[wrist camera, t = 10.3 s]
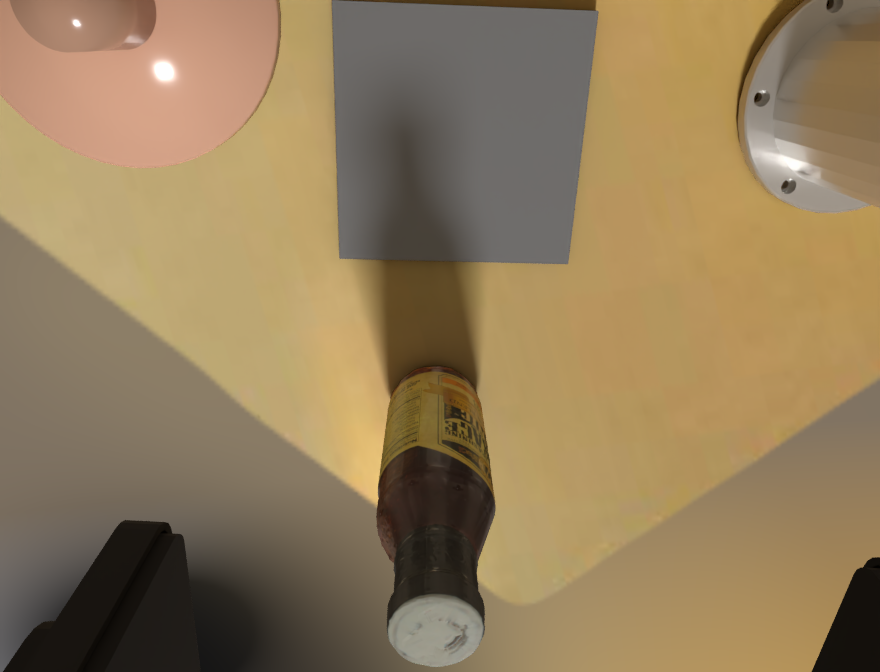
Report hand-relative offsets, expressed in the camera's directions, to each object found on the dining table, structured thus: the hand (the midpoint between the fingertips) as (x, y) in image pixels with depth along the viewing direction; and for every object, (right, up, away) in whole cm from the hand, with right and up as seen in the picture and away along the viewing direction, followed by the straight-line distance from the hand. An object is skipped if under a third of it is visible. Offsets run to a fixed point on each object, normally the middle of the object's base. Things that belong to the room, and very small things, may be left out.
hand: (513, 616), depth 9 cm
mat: (0, +15, +29) cm, 32 cm away
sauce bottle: (-1, 0, +36) cm, 36 cm away
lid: (-13, +17, +17) cm, 27 cm away
